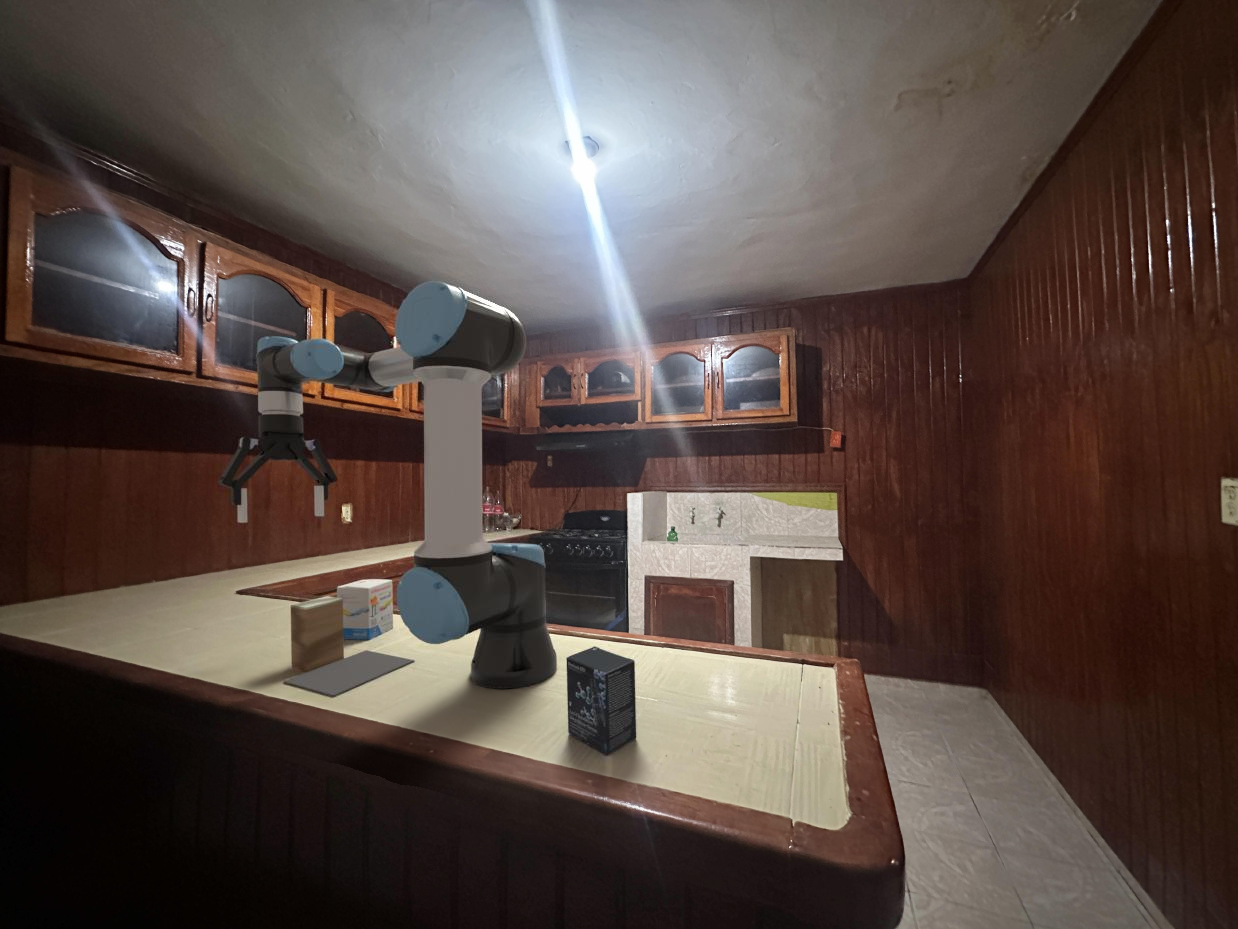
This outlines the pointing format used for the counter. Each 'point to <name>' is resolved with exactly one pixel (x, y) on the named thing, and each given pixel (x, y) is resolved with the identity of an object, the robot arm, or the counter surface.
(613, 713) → the box
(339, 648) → the block
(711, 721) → the counter surface
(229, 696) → the counter surface
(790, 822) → the counter surface
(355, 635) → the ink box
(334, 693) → the mat
